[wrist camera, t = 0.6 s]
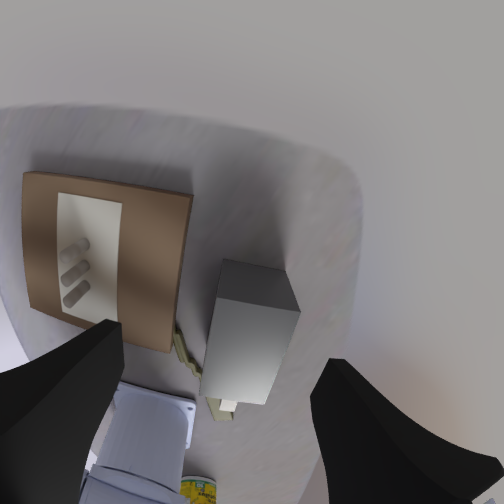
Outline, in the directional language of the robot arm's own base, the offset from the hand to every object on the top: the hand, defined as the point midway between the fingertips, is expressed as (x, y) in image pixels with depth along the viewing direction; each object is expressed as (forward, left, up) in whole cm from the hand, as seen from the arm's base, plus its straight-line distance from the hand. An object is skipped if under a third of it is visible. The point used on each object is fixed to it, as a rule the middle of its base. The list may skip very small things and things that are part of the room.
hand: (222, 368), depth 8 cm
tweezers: (-10, 0, -10) cm, 14 cm away
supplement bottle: (-35, -1, -9) cm, 36 cm away
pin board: (-2, +10, -9) cm, 13 cm away
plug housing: (-3, -1, -9) cm, 10 cm away
